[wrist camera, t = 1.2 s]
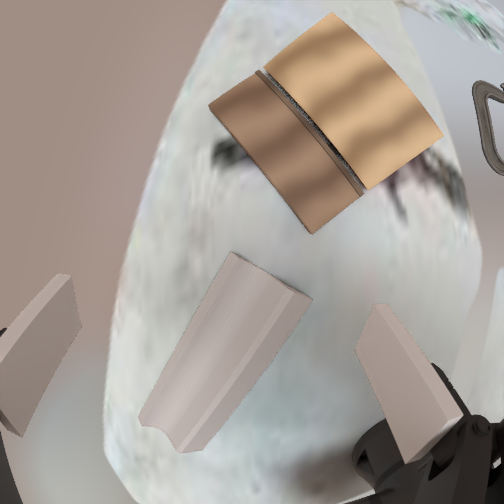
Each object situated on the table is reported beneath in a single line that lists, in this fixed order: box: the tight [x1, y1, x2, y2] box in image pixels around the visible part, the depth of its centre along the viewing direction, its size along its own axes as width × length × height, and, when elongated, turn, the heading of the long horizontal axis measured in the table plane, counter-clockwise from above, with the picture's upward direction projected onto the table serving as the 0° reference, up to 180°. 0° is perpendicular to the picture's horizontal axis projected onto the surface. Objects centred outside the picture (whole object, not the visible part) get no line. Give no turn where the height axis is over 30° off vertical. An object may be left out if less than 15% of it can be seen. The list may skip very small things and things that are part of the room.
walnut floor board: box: [208, 70, 364, 234], centre depth 33 cm, size 20×8×2 cm, turn 38°
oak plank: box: [263, 12, 444, 190], centre depth 29 cm, size 20×12×2 cm, turn 38°
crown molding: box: [138, 252, 313, 453], centre depth 36 cm, size 31×12×4 cm, turn 149°
